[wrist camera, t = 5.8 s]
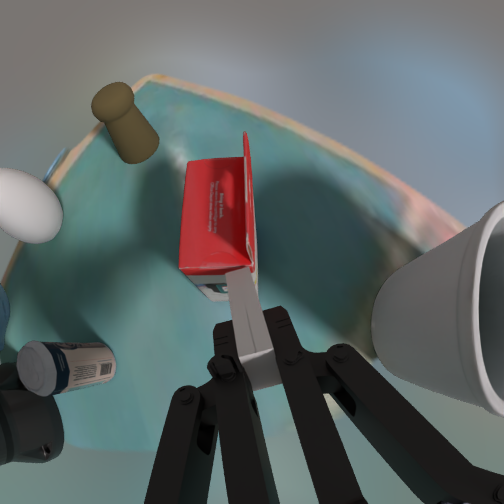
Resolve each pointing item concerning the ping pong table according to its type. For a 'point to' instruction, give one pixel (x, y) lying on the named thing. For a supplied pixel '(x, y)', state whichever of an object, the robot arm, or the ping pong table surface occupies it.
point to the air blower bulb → (28, 207)
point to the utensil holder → (449, 317)
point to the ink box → (218, 223)
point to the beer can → (64, 366)
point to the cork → (125, 123)
